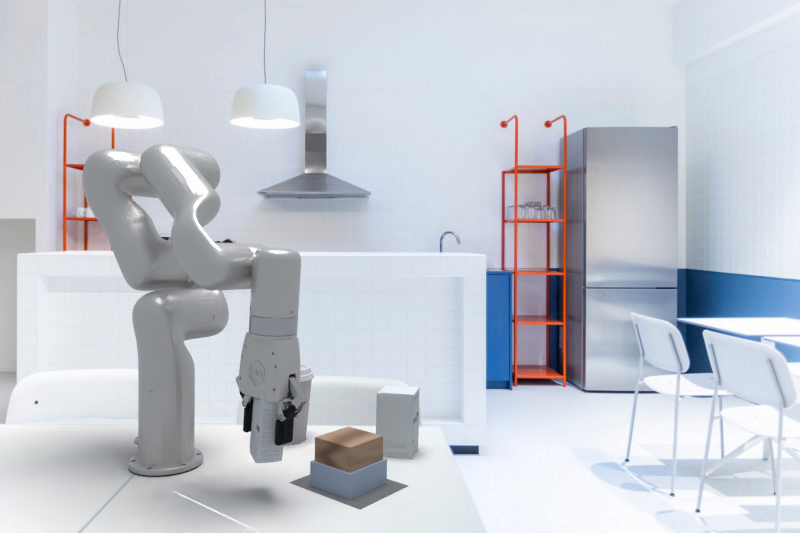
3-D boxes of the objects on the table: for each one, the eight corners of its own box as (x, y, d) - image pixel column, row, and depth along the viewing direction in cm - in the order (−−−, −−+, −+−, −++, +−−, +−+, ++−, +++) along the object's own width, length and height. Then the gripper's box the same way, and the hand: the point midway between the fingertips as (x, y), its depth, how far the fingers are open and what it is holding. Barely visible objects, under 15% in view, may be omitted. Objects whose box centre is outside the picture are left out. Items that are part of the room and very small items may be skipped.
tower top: (314, 461, 100) (314, 437, 100) (348, 449, 106) (348, 426, 106) (350, 472, 95) (350, 447, 95) (382, 459, 101) (383, 435, 101)
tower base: (310, 485, 100) (310, 461, 100) (347, 470, 107) (347, 447, 107) (349, 499, 94) (350, 474, 94) (386, 482, 101) (387, 459, 101)
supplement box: (412, 462, 113) (414, 394, 113) (374, 458, 114) (375, 392, 114) (419, 449, 120) (420, 386, 120) (383, 446, 122) (384, 383, 121)
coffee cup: (295, 429, 131) (295, 361, 131) (322, 440, 125) (323, 367, 124) (257, 439, 125) (257, 366, 124) (284, 450, 118) (284, 374, 118)
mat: (288, 484, 101) (288, 482, 101) (339, 465, 110) (339, 463, 110) (359, 511, 91) (360, 509, 91) (408, 488, 100) (408, 485, 100)
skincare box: (248, 450, 98) (252, 377, 98) (275, 448, 100) (279, 376, 99) (255, 465, 93) (260, 387, 92) (284, 462, 95) (289, 385, 94)
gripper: (220, 320, 98) (214, 428, 99) (292, 337, 87) (285, 458, 88) (257, 316, 104) (252, 418, 105) (329, 332, 93) (322, 446, 94)
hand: (267, 435), depth 96 cm, fingers closed on skincare box, 7 cm apart
